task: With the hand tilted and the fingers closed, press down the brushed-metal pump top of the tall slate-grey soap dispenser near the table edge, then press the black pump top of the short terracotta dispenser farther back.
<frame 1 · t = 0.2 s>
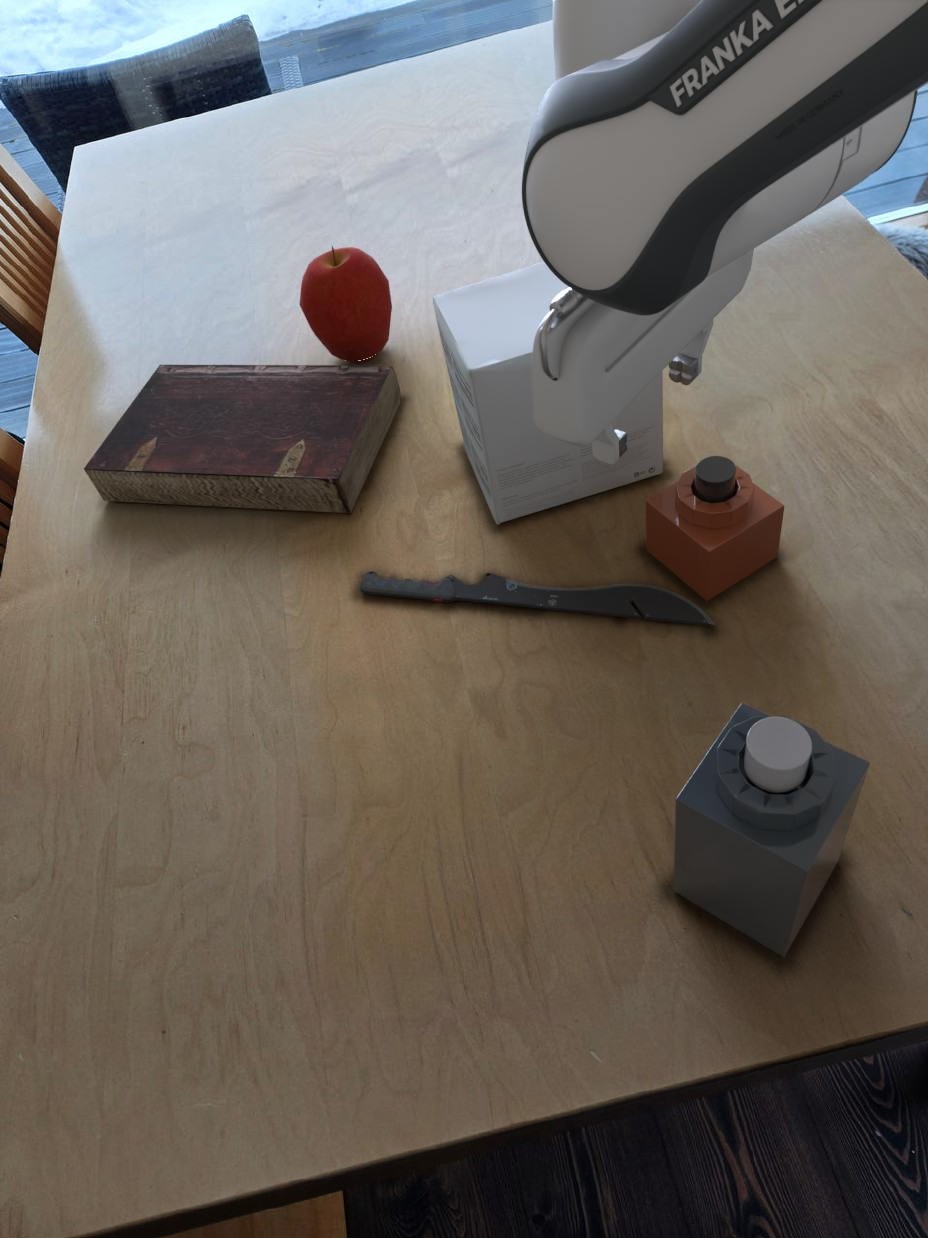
hand: (648, 415, 64), 21 cm above the table, tool pointing down, fingers open, 8 cm apart
knife: (532, 595, 83), on the table
pump far: (714, 479, 76), point 9 cm above the table, slide at 0.1 cm
dispenser near: (755, 876, 63), on the table
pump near: (776, 754, 51), point 16 cm above the table, slide at 0.1 cm
apple: (362, 355, 112), on the table
supplement box: (559, 462, 94), on the table
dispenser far: (710, 553, 83), on the table
book: (256, 451, 103), on the table
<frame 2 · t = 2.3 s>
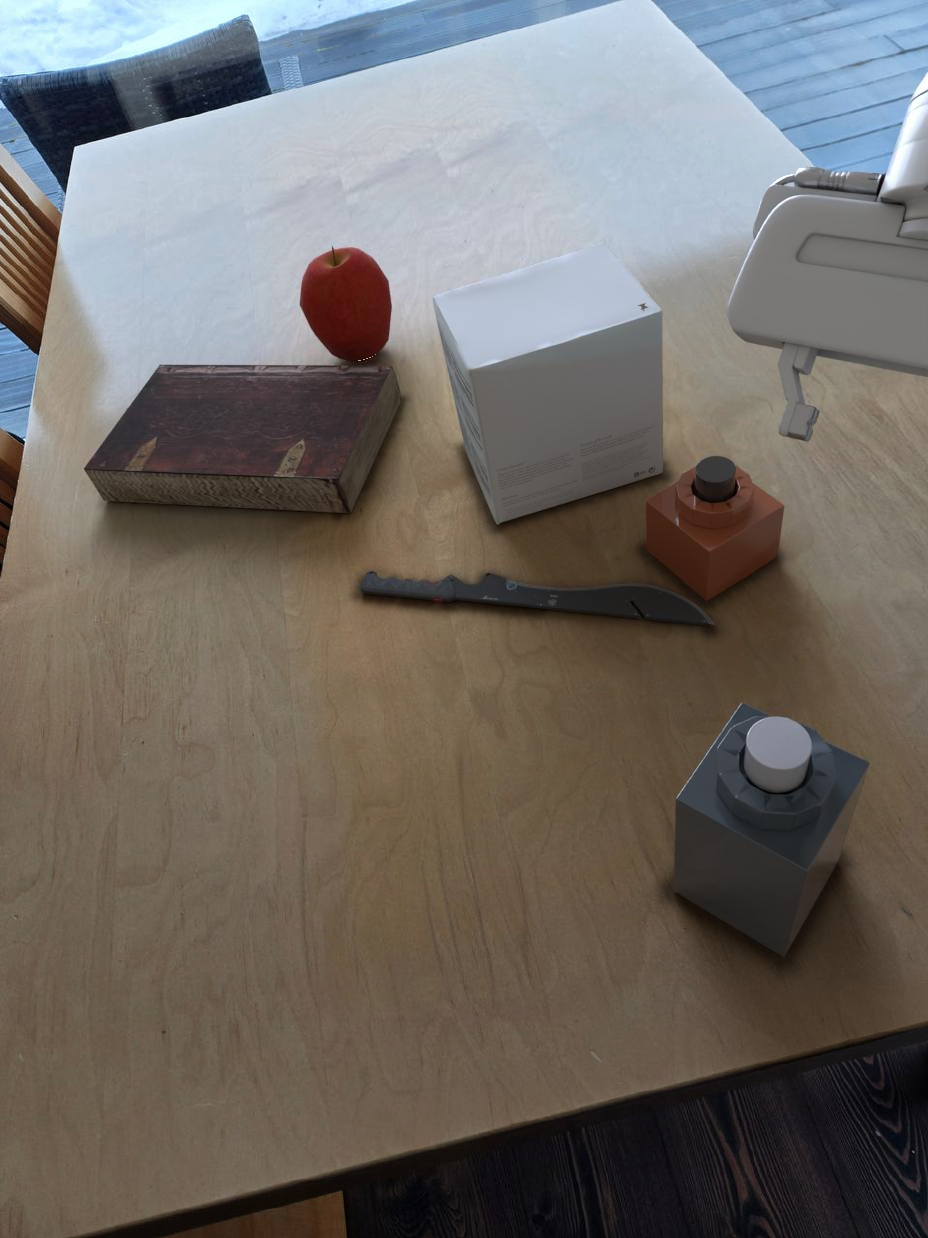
hand: (882, 459, 49), 27 cm above the table, tool tilted 45°, fingers open, 8 cm apart
nothing on the table moved.
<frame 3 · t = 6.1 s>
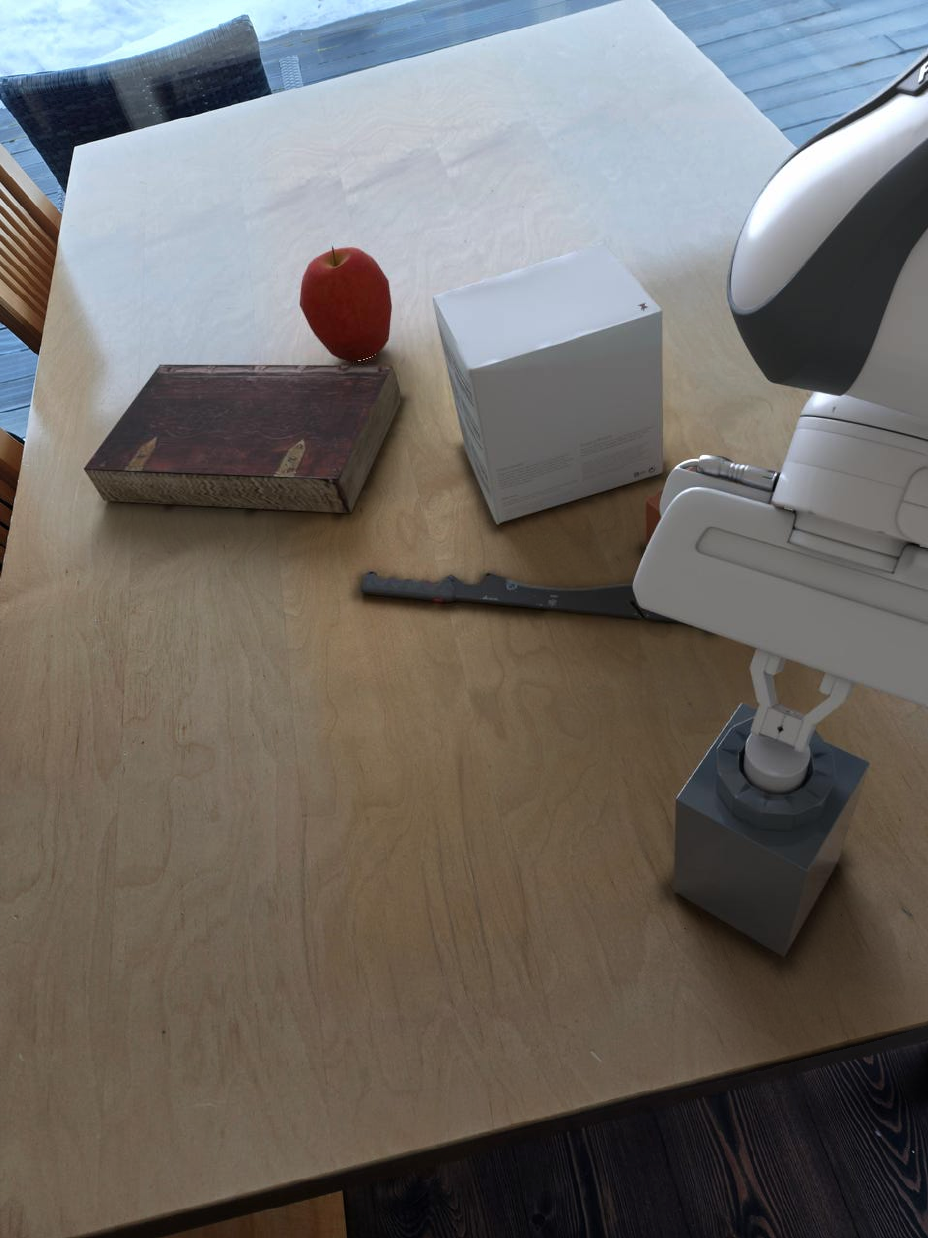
hand: (777, 741, 51), 17 cm above the table, tool tilted 45°, fingers closed, pressing on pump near
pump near: (775, 761, 52), point 15 cm above the table, slide at -0.7 cm, touching gripper
everything else where it was.
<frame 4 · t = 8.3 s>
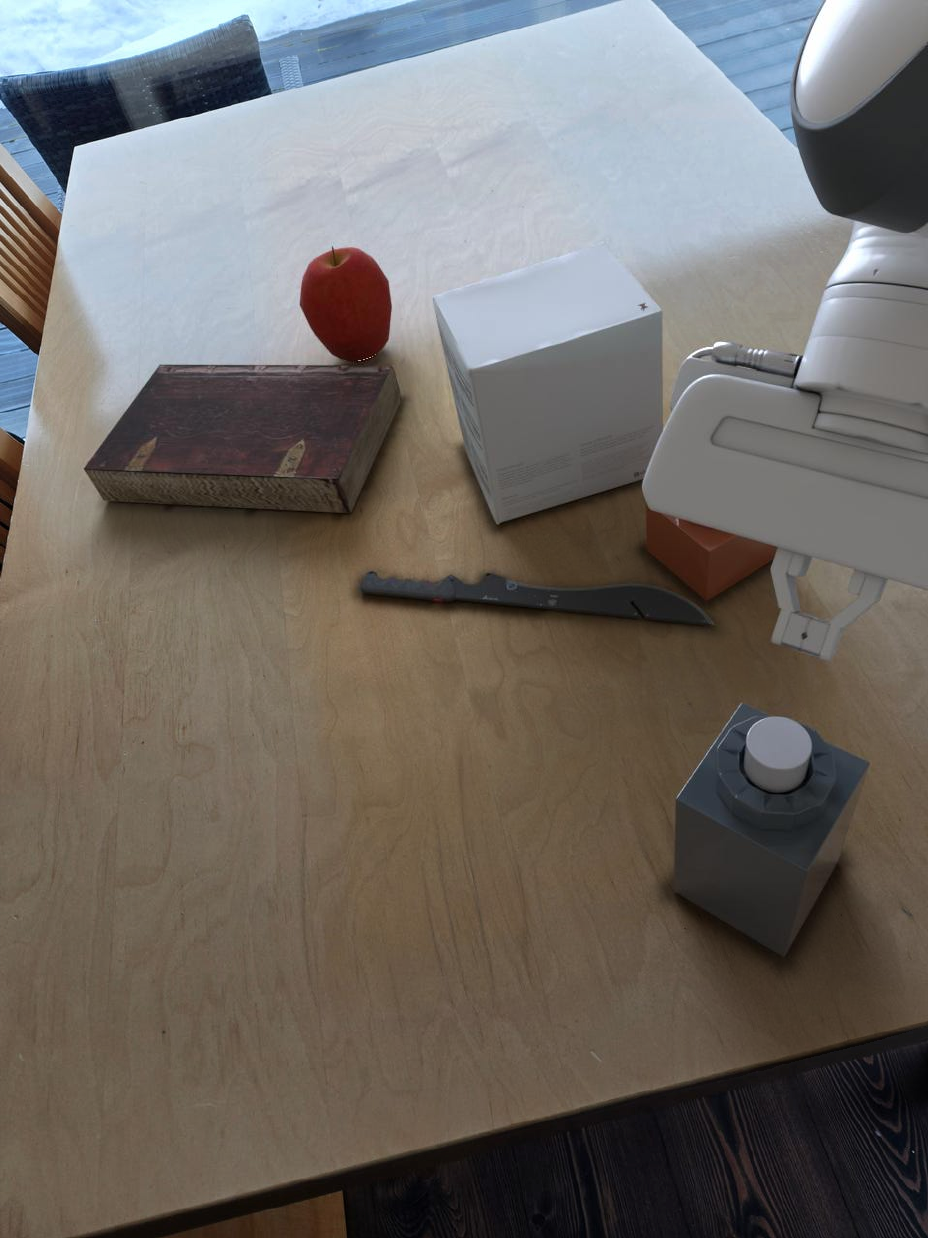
hand: (801, 651, 46), 23 cm above the table, tool tilted 45°, fingers closed
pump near: (776, 754, 51), point 16 cm above the table, slide at 0.1 cm
everything else where it was.
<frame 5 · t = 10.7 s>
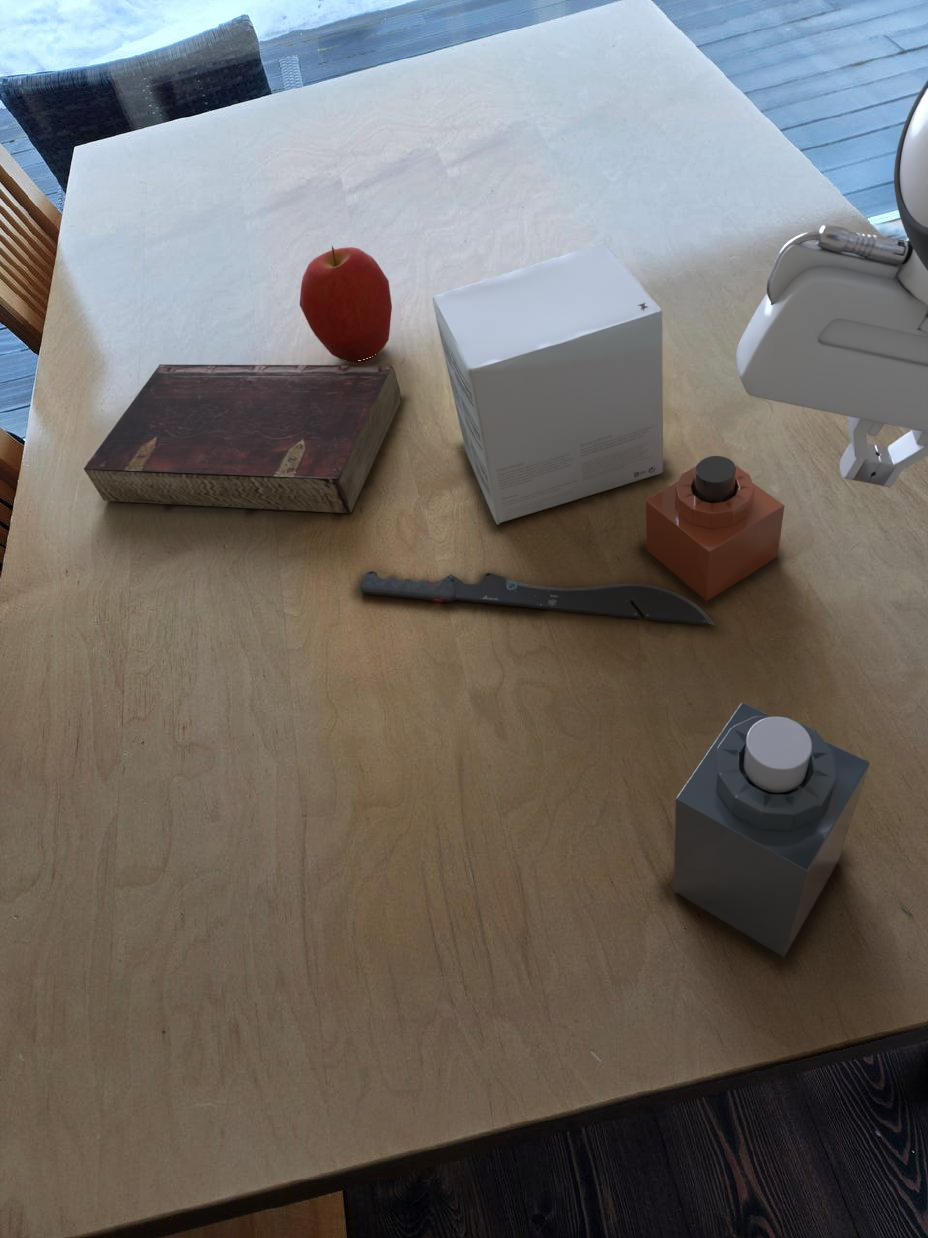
hand: (863, 476, 56), 21 cm above the table, tool tilted 20°, fingers closed
nothing on the table moved.
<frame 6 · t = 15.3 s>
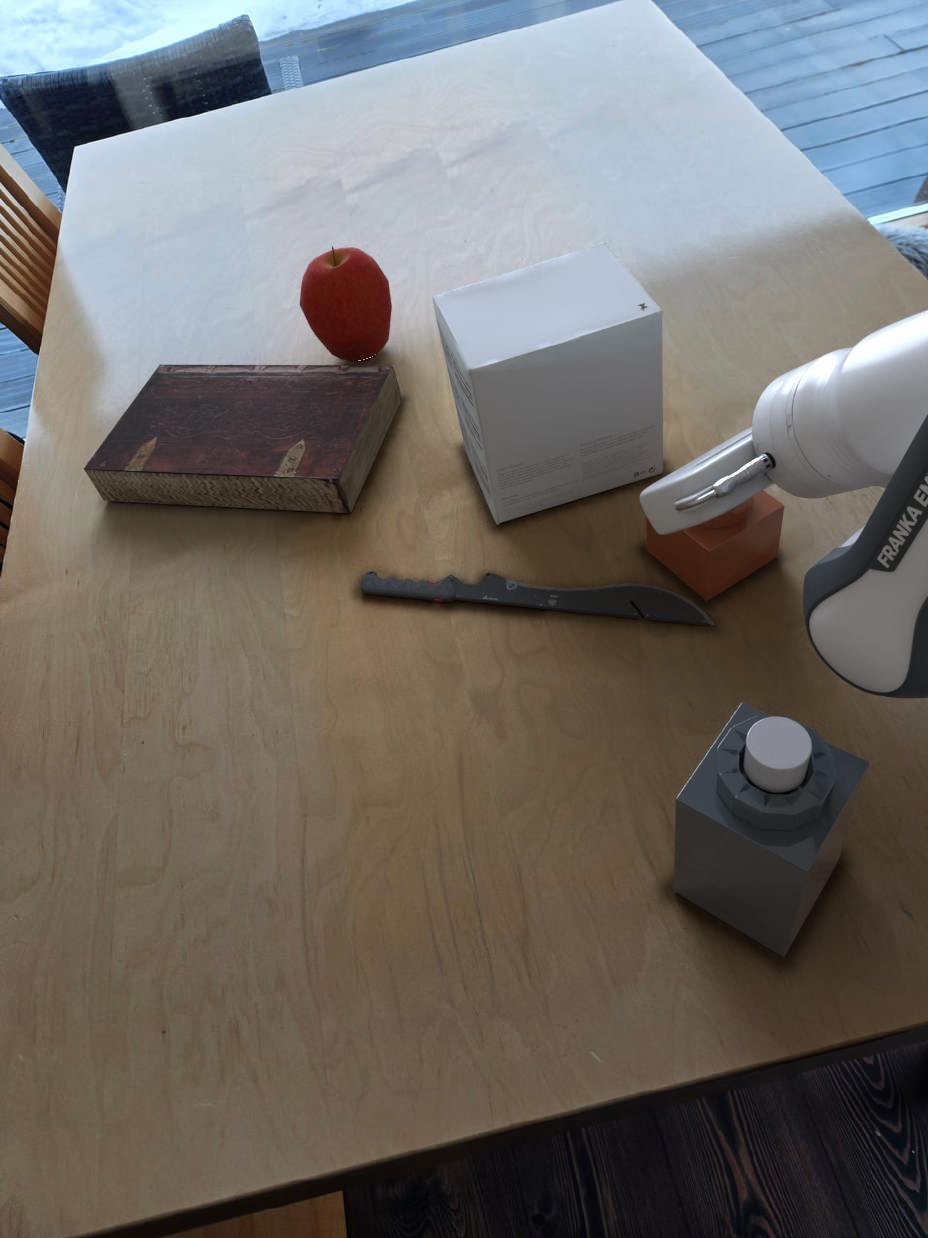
hand: (715, 466, 75), 10 cm above the table, tool tilted 45°, fingers closed, pressing on pump far
pump far: (714, 483, 76), point 8 cm above the table, slide at -0.4 cm, touching gripper
everything else where it was.
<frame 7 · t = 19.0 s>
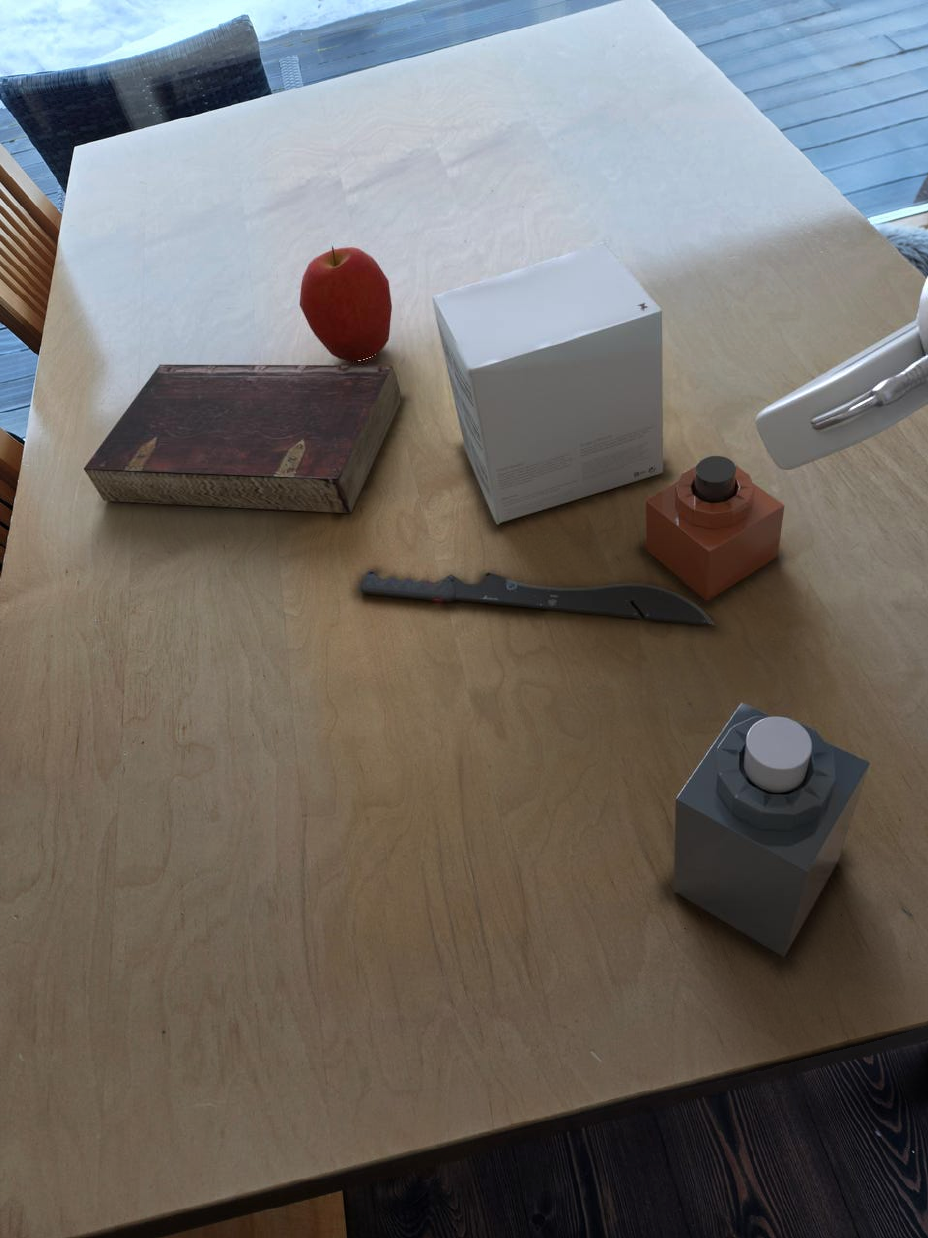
hand: (838, 392, 59), 23 cm above the table, tool tilted 45°, fingers closed
pump far: (714, 479, 76), point 9 cm above the table, slide at 0.1 cm
everything else where it was.
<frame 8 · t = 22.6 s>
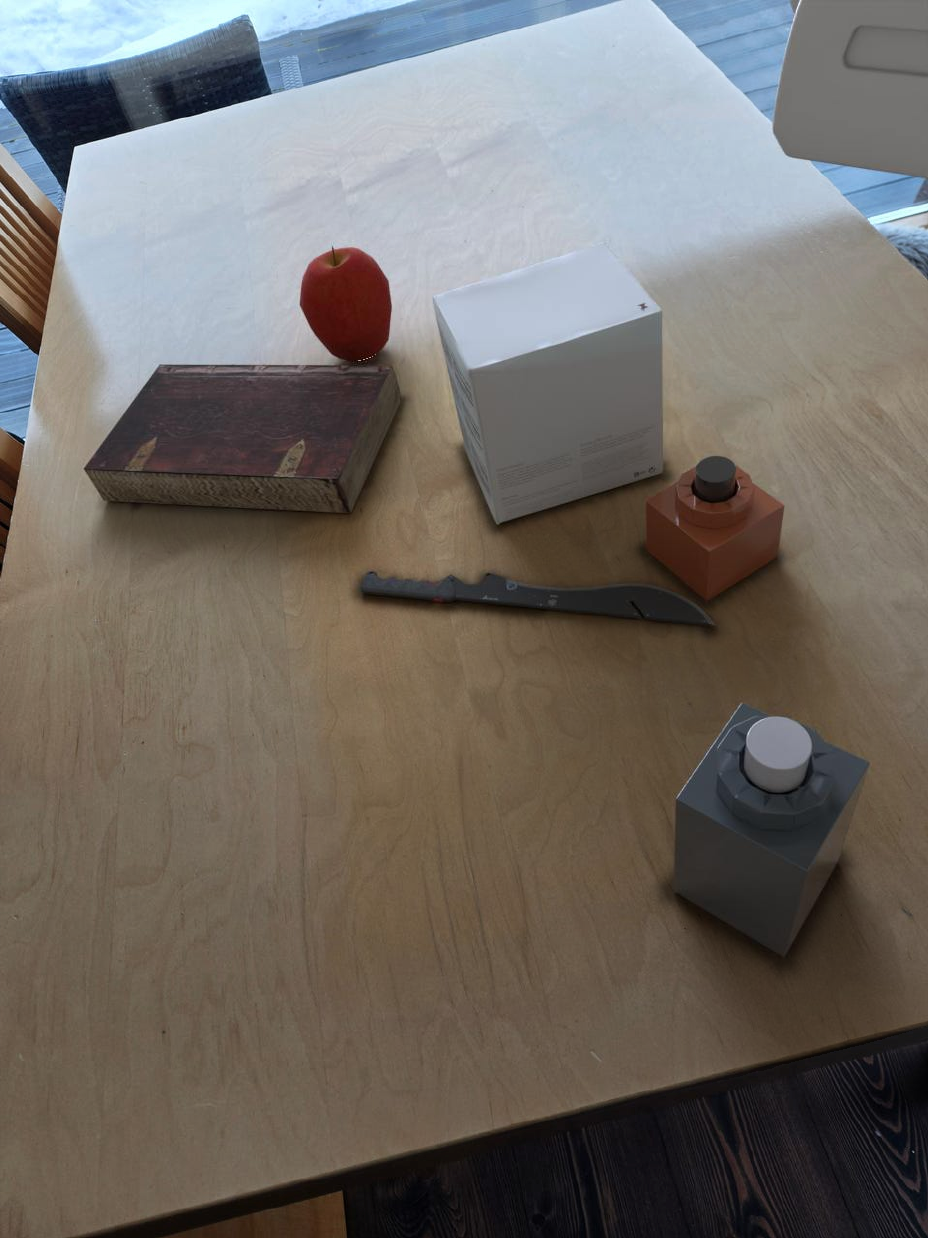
nothing on the table moved.
at the end: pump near pushed in 1.5 cm at the most during the clip, back to where it started at the end; pump far pushed in 1.3 cm at the most during the clip, back to where it started at the end; pump far slide at 0.1 cm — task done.
